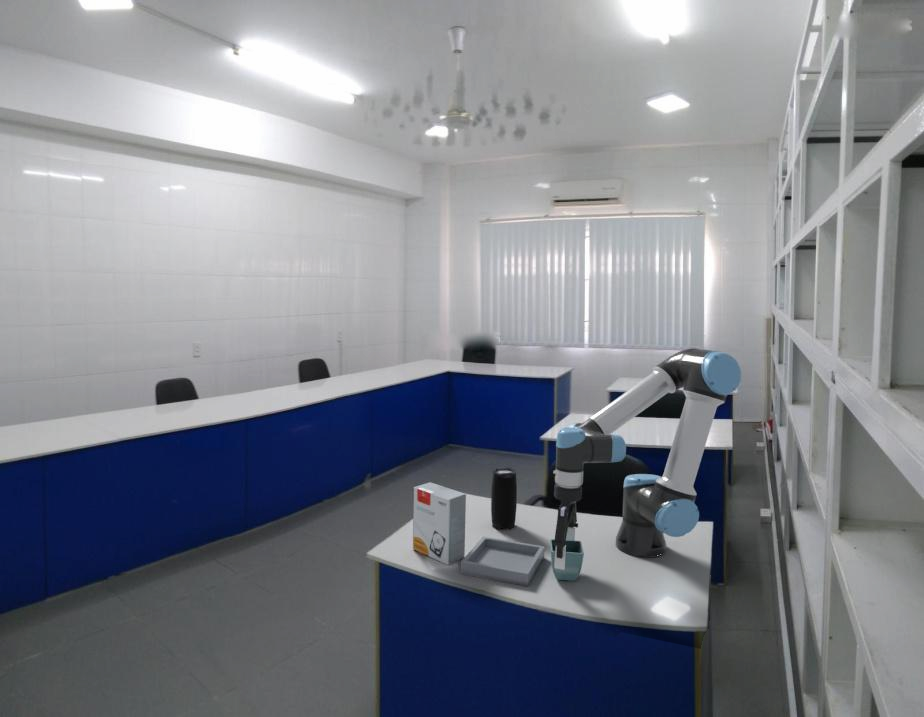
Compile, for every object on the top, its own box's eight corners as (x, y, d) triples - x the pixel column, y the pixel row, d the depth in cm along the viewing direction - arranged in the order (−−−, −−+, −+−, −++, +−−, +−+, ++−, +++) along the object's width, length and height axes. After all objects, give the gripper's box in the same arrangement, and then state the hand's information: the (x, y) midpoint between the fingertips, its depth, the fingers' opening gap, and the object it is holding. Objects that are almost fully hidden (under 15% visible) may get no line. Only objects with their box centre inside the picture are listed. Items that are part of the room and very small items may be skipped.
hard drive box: (411, 550, 182) (412, 486, 180) (429, 542, 188) (430, 481, 186) (448, 565, 171) (448, 499, 170) (465, 557, 177) (467, 492, 175)
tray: (544, 557, 178) (544, 546, 177) (527, 586, 160) (528, 574, 159) (483, 547, 185) (483, 536, 184) (460, 573, 167) (460, 561, 166)
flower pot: (579, 570, 170) (580, 540, 169) (583, 585, 161) (584, 553, 160) (548, 568, 171) (549, 538, 170) (550, 583, 162) (551, 551, 161)
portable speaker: (511, 520, 208) (512, 465, 206) (519, 530, 199) (521, 473, 197) (487, 521, 206) (488, 466, 204) (494, 532, 197) (496, 474, 195)
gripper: (563, 471, 176) (560, 540, 178) (544, 495, 153) (540, 574, 155) (589, 474, 173) (585, 544, 175) (573, 499, 150) (569, 580, 152)
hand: (564, 558), depth 165 cm, fingers open, 13 cm apart
